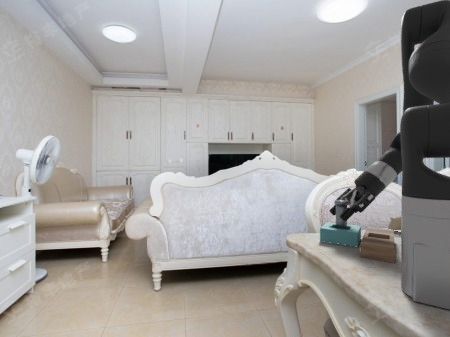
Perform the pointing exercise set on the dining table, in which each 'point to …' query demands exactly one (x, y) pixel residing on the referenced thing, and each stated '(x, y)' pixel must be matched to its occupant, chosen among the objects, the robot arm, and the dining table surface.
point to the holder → (340, 234)
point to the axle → (340, 208)
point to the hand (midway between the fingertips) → (336, 216)
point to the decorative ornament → (395, 223)
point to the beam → (378, 244)
